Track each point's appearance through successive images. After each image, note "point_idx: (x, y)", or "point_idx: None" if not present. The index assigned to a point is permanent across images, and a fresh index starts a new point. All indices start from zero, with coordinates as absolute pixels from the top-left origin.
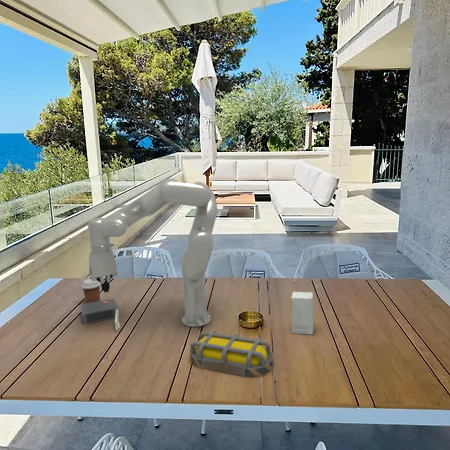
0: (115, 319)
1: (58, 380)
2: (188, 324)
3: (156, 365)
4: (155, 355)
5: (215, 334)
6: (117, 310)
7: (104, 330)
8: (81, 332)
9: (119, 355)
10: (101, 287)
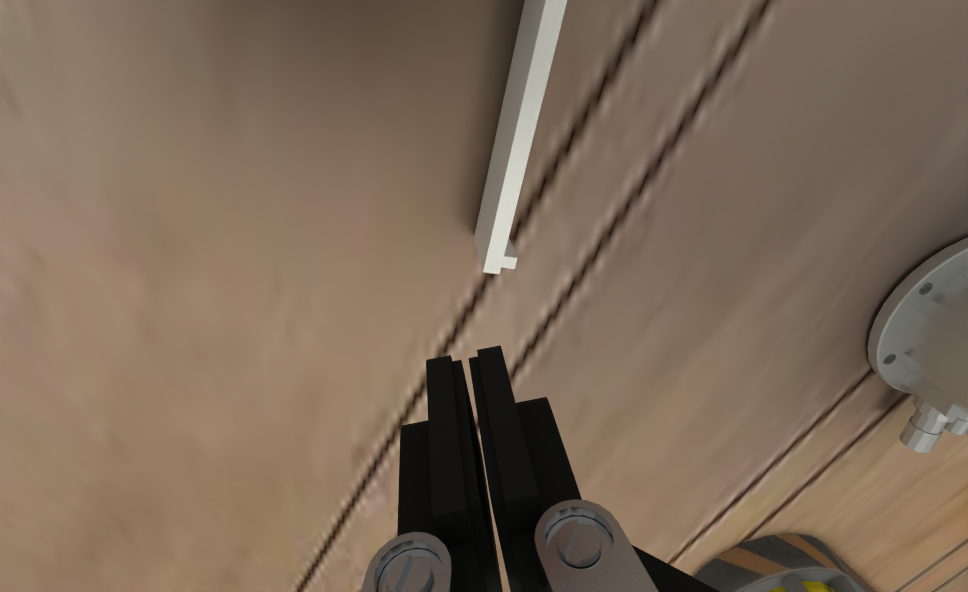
0: (495, 234)
1: (165, 574)
2: (878, 372)
3: None
4: None
5: None
6: (561, 12)
7: (390, 183)
8: (187, 127)
9: None
10: (401, 460)
